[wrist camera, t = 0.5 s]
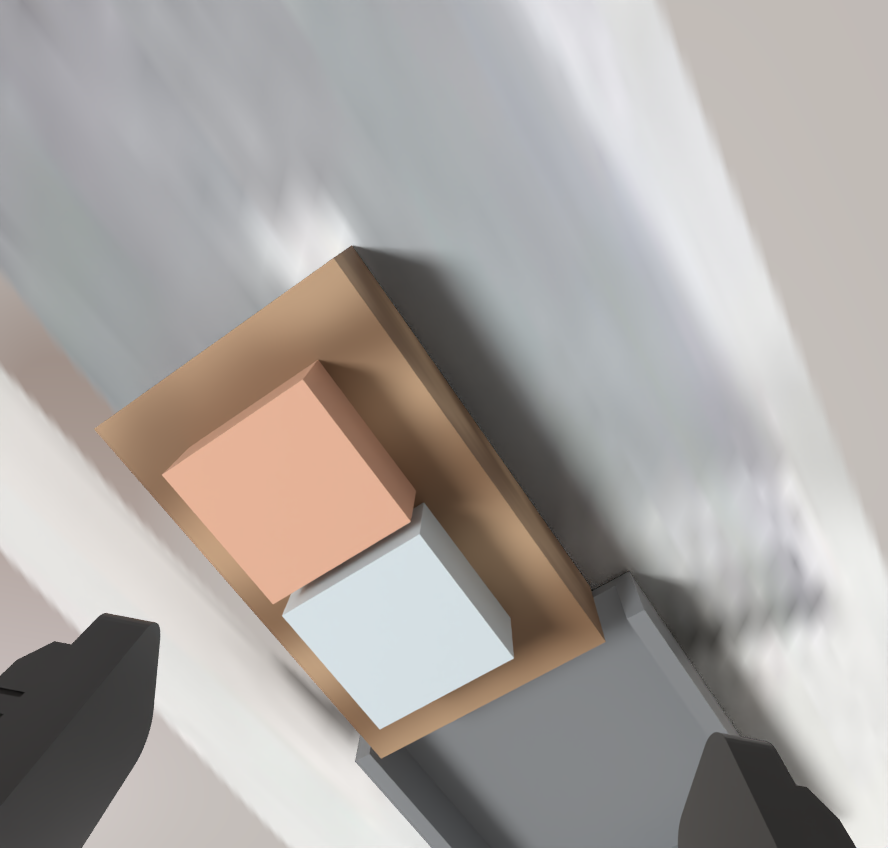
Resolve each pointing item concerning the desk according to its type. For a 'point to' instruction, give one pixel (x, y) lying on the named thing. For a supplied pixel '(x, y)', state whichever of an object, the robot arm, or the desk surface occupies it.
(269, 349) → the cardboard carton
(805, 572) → the desk surface
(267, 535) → the tile
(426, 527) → the tile
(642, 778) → the box
